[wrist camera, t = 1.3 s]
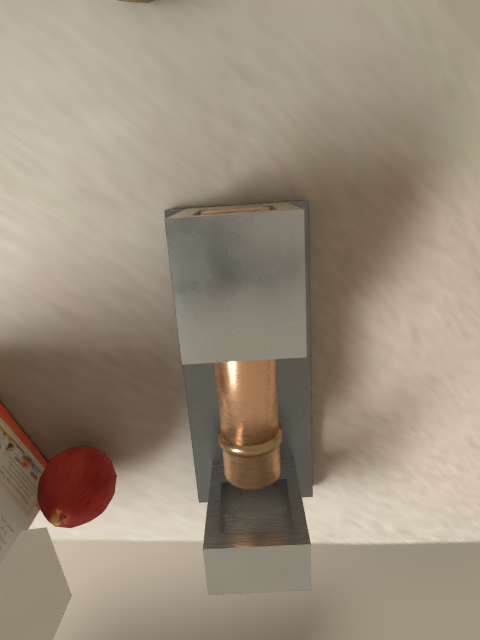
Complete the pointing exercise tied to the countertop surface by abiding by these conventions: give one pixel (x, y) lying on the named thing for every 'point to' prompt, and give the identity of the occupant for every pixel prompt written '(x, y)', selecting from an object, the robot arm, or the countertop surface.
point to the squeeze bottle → (137, 0)
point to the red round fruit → (76, 486)
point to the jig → (246, 345)
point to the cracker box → (17, 481)
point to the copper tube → (248, 414)
